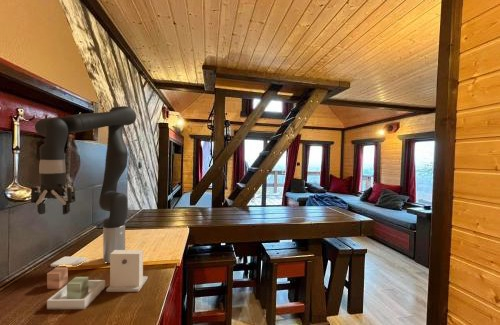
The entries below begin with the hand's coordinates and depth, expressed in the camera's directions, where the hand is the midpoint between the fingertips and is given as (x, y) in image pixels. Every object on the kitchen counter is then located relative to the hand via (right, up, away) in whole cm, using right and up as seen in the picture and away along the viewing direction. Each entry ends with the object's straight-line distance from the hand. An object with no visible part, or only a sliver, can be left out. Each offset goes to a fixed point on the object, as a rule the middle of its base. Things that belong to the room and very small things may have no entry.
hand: (53, 213), depth 88 cm
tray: (+12, -30, -4) cm, 32 cm away
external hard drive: (-10, -29, +21) cm, 37 cm away
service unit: (+26, -30, +5) cm, 40 cm away
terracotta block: (-1, -29, +3) cm, 29 cm away
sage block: (+12, -29, -4) cm, 32 cm away
